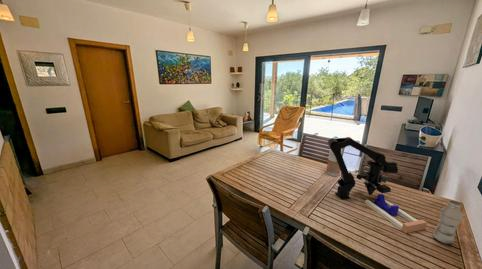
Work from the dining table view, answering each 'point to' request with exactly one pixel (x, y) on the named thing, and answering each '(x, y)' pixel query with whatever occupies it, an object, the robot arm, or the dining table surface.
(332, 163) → the fruit juice
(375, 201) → the cable clip
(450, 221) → the plastic bottle
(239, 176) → the dining table surface
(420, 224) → the guide channel
